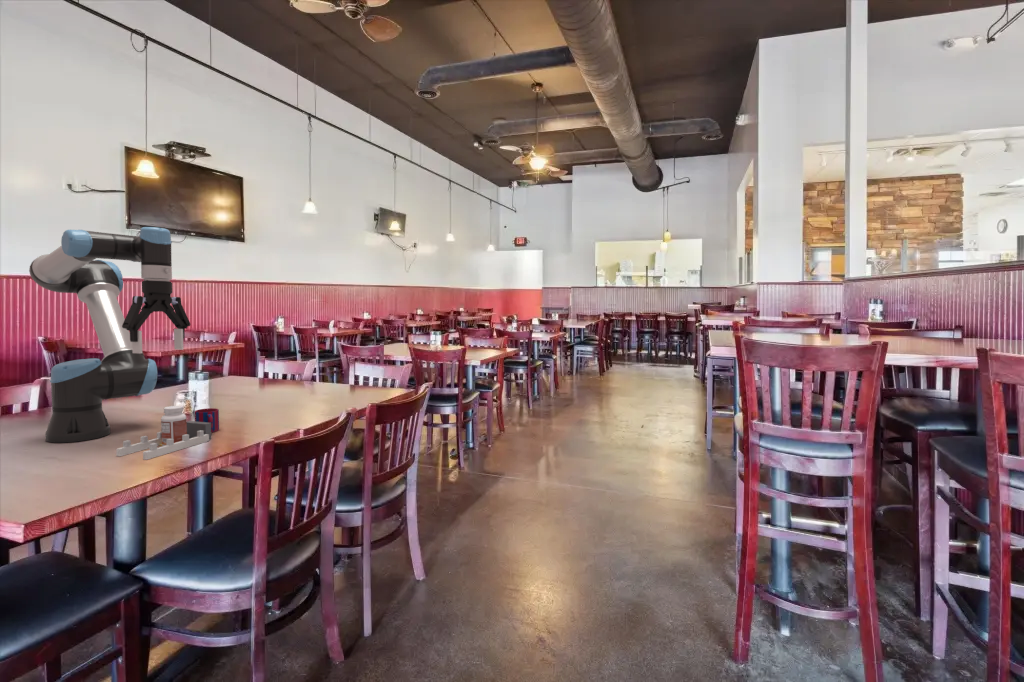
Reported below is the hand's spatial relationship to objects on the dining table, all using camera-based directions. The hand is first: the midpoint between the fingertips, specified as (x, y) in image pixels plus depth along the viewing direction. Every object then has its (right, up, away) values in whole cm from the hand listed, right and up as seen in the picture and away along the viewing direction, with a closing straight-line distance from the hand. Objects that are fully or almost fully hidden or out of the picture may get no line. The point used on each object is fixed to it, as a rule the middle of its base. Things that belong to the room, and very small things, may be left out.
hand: (159, 351), depth 155 cm
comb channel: (+7, -27, -8) cm, 29 cm away
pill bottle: (+8, -27, -5) cm, 29 cm away
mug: (+8, -26, +11) cm, 30 cm away
